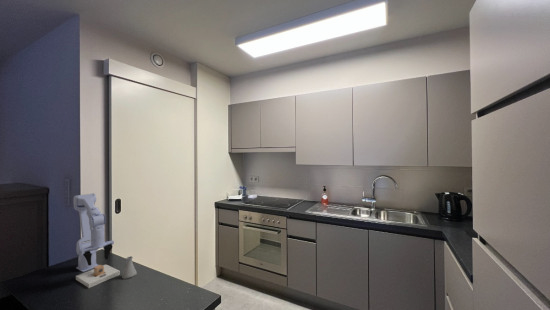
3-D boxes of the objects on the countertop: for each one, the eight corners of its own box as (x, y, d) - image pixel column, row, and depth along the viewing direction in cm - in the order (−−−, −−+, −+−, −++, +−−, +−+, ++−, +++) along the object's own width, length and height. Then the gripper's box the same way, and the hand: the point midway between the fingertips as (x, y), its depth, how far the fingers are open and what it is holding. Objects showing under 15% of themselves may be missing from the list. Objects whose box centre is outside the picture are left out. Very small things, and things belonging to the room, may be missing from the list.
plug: (94, 277, 118) (93, 266, 118) (100, 275, 121) (100, 264, 121) (98, 280, 115) (98, 269, 116) (104, 277, 118) (104, 266, 118)
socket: (75, 279, 116) (75, 275, 116) (106, 267, 129) (106, 263, 129) (88, 288, 109) (88, 283, 109) (119, 274, 121) (119, 270, 121)
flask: (124, 280, 115) (124, 262, 115) (119, 276, 119) (119, 258, 119) (139, 274, 120) (139, 256, 120) (134, 270, 125) (133, 253, 125)
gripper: (84, 243, 110) (84, 269, 110) (116, 234, 123) (116, 257, 123) (78, 240, 114) (78, 266, 114) (110, 232, 127) (110, 255, 127)
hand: (98, 261), depth 119 cm, fingers open, 7 cm apart
